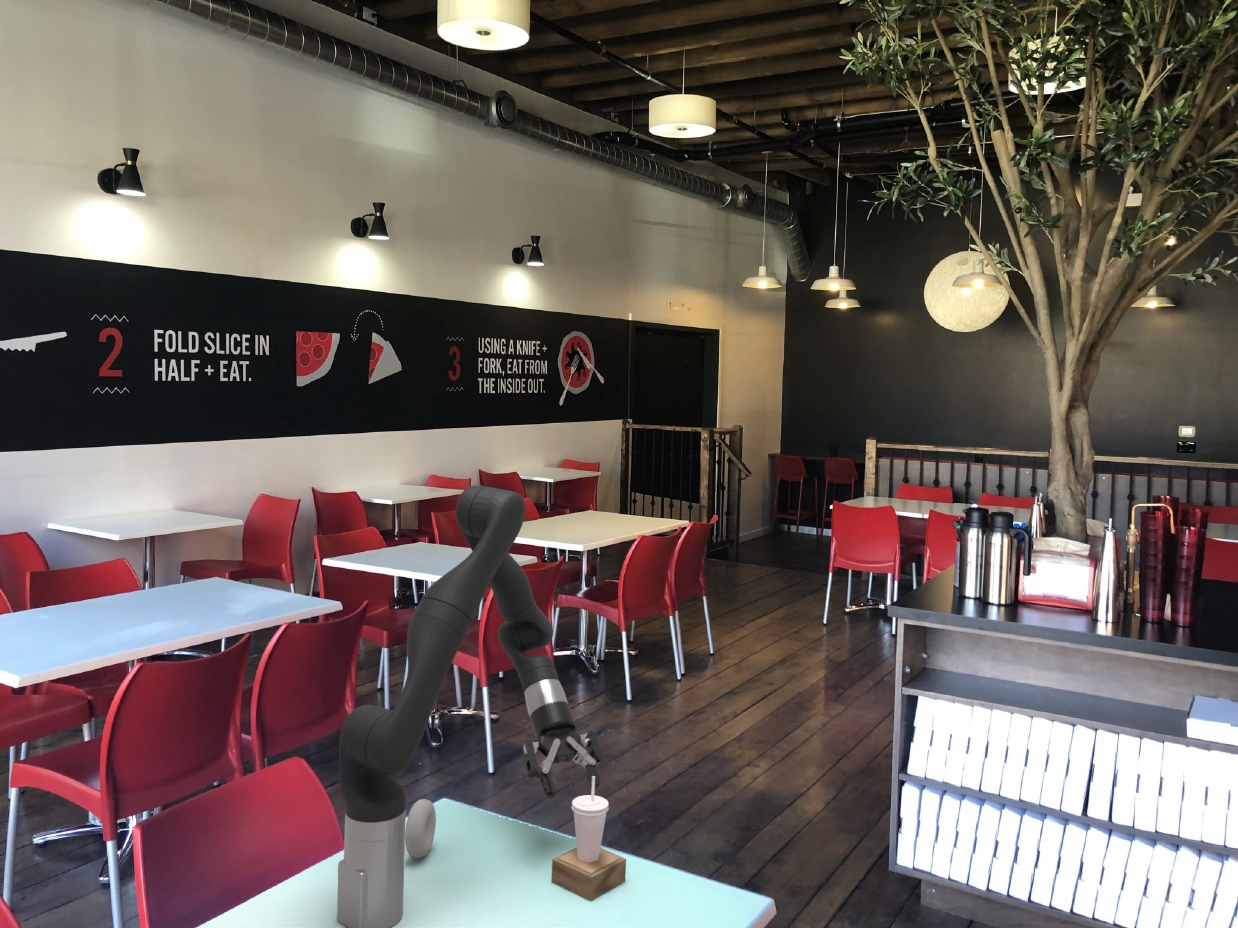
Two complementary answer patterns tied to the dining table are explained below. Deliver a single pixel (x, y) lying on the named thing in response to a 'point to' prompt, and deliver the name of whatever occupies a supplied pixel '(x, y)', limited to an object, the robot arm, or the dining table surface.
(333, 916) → the dining table surface
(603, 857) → the base
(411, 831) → the donut
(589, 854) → the smoothie
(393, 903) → the robot arm
